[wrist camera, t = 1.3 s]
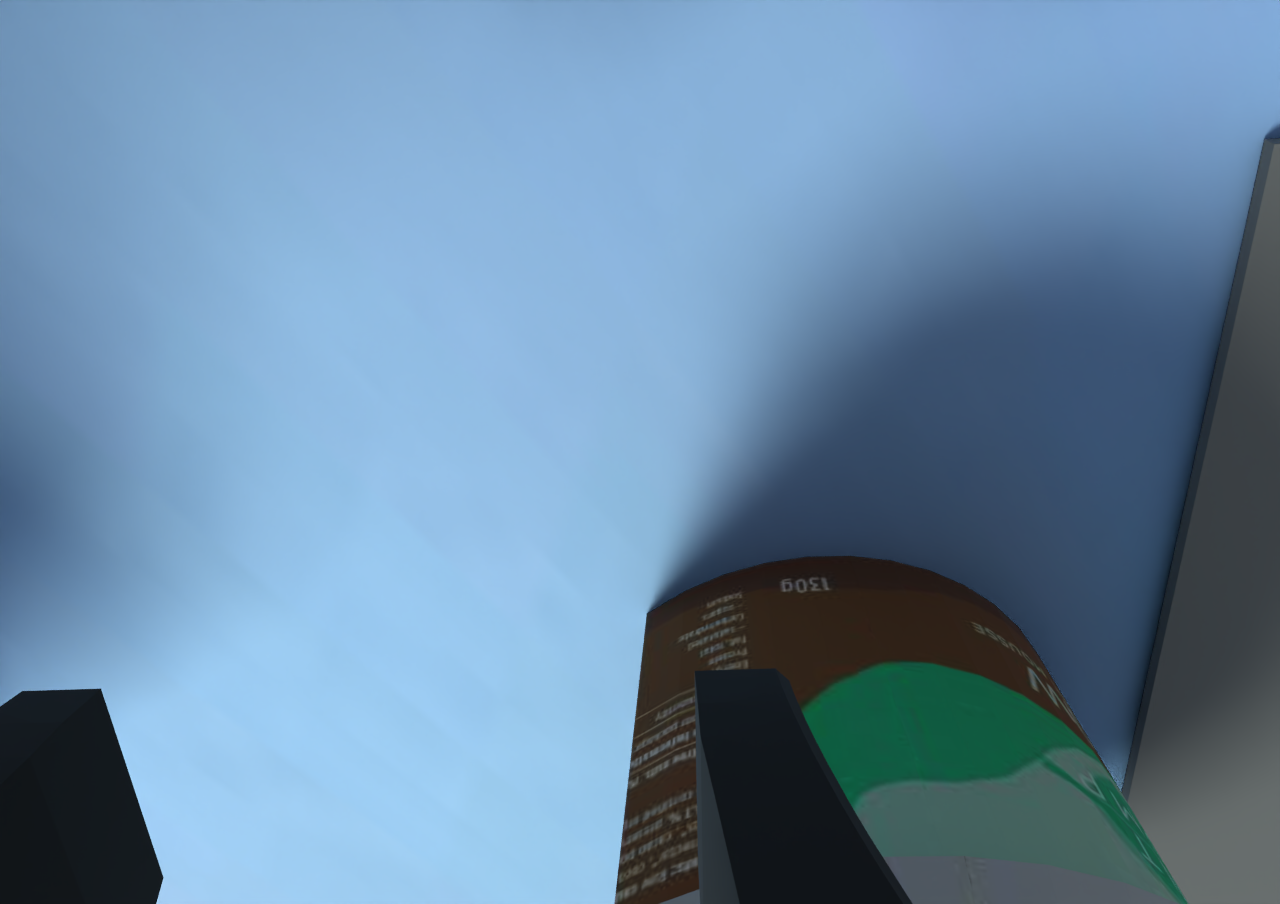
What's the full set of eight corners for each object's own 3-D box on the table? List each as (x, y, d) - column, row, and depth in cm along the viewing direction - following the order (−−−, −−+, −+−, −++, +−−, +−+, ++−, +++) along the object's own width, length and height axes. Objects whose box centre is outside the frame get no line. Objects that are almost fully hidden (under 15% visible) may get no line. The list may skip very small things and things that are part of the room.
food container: (1235, 785, 23) (1593, 1371, 15) (972, 923, 25) (1151, 1515, 17) (877, 354, 19) (1088, 831, 10) (591, 562, 21) (558, 1113, 12)
